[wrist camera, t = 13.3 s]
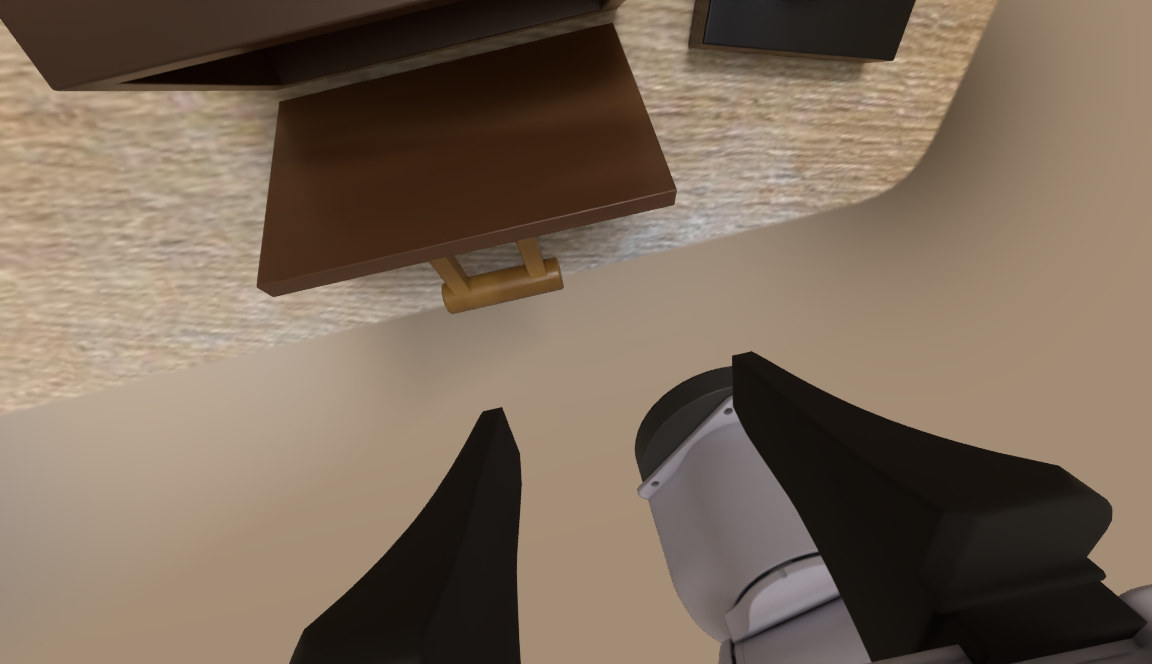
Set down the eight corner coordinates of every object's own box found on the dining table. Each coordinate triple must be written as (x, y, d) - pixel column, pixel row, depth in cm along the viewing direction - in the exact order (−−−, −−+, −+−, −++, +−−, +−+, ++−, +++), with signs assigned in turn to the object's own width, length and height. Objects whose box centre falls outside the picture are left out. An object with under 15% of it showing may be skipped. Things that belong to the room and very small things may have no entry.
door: (615, 144, 21) (661, 285, 18) (364, 203, 22) (364, 352, 18) (613, 21, 16) (677, 189, 13) (278, 101, 16) (255, 287, 13)
